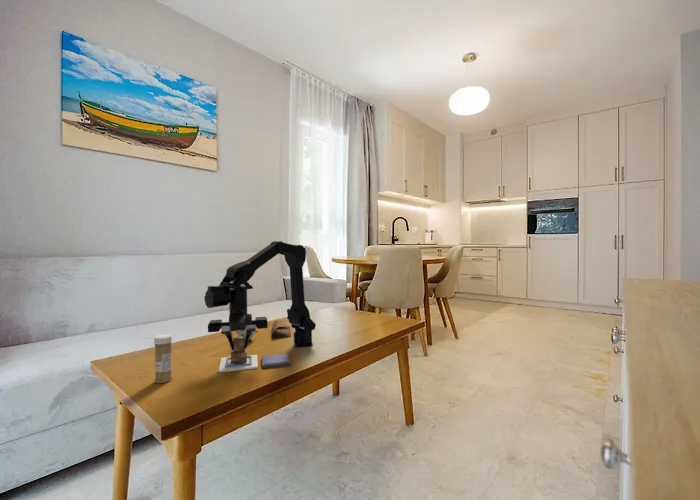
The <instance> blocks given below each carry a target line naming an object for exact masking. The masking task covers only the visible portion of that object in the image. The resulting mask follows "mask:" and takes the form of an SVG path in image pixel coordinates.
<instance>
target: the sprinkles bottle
mask: <svg viewBox="0 0 700 500" xmlns="http://www.w3.org/2000/svg"><path fill="white" fill-rule="evenodd" d="M172 337H173V336H172V334H167V333H165V334H159V335H156V336H154V337H153V340H154V341H153V343H154V370H155V378H154V381H155V383H156V384H164V383H168V382H170V381H172V379H173V376H172V375H173V374H172V370H173V369H172V366H173V363H172V361H173V359H172V356H173V355H172V354H173V353H172V352H173V351H172V341H173V339H172Z"/></svg>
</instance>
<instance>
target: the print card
mask: <svg viewBox="0 0 700 500" xmlns="http://www.w3.org/2000/svg"><path fill="white" fill-rule="evenodd" d="M255 369H256V370H257V369H259V364H258V354H249V355H248V354H247V362H242V363H232V364H231V356H226V357H221V358H220V362H219V366H218V371H217V372H218V373H225V372H226V373H227V372H236V371H246V370H255Z"/></svg>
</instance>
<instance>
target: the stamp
mask: <svg viewBox="0 0 700 500" xmlns="http://www.w3.org/2000/svg"><path fill="white" fill-rule="evenodd" d="M247 355H248V348H247V347H246V349H245V337H243V336H238V335H237V336H235V337H233V350H232V349H231V351H230V357H231V364H232V363H242V362H247Z"/></svg>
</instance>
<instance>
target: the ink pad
mask: <svg viewBox="0 0 700 500" xmlns="http://www.w3.org/2000/svg"><path fill="white" fill-rule="evenodd" d="M291 364H292V363H291V359H290V356H289V354H288V353H283V354H271V355H261V367H262V369H270V368H278V367H288V366H289V367H290V366H291Z"/></svg>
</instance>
